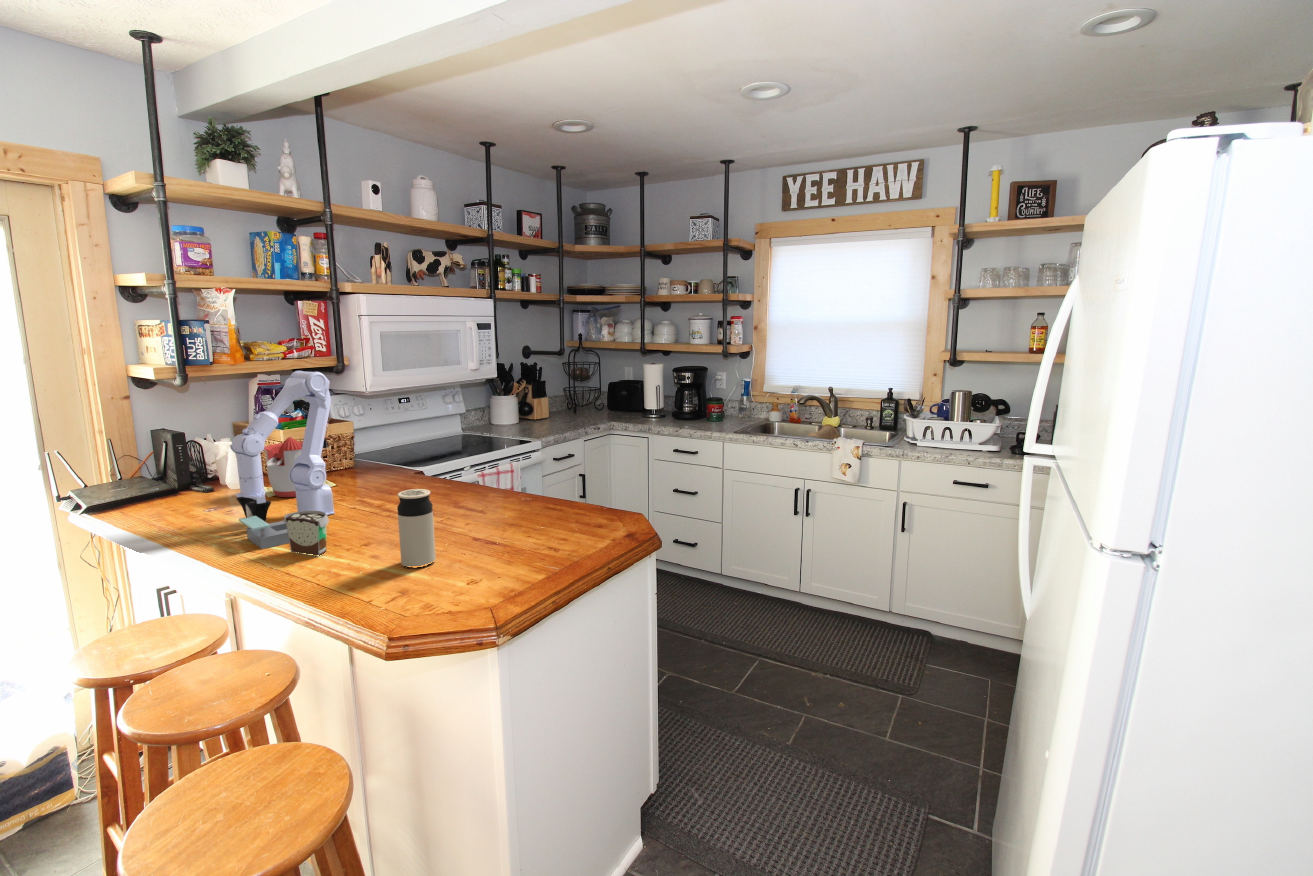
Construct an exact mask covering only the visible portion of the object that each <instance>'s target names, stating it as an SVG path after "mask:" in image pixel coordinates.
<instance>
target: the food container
mask: <svg viewBox="0 0 1313 876" xmlns="http://www.w3.org/2000/svg"><path fill="white" fill-rule="evenodd" d="M328 516H329V515H326V513H325V512H322V511H300V512H298V511H296V512H295V511H294V512H290V513H286V514H284V517H283V521H284V522H286V527H287V533H288V538H289V543H288V544H289V548H290V553H292V552H297V553H296V554H298V552H299V553H306V554H313V555H319V556H320V555H322V554H324V553H325V552H326V553H327V525H328V524H329V523H330V520H329V517H328ZM326 553H325V554H326ZM325 554H324V555H325ZM322 556H323V555H322ZM320 557H321V556H320Z"/></svg>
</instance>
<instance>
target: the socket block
mask: <svg viewBox="0 0 1313 876" xmlns="http://www.w3.org/2000/svg"><path fill="white" fill-rule="evenodd" d="M238 521H239V522H240V523H242V524H243V525H244V526H246V527H247V528H246V536H247V538H246V539H247V540H248V541H250V542H251V543H253V544H254V545H256V546H257V547H258V546H259V547H258V548H259V549H261V550H265V549H269V547H270V548H274V547H277V546H282V545H285V544H286V545H287V544H290V543H289V538H288V533H287V527H286V522H284V520H280V521H275V522H271V523H268V522H265V521H263V520H262V519H260V518H258V517H257V516H251V517H246V516H245V517H241V518H239V519H238ZM248 527H249V528H248Z"/></svg>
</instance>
